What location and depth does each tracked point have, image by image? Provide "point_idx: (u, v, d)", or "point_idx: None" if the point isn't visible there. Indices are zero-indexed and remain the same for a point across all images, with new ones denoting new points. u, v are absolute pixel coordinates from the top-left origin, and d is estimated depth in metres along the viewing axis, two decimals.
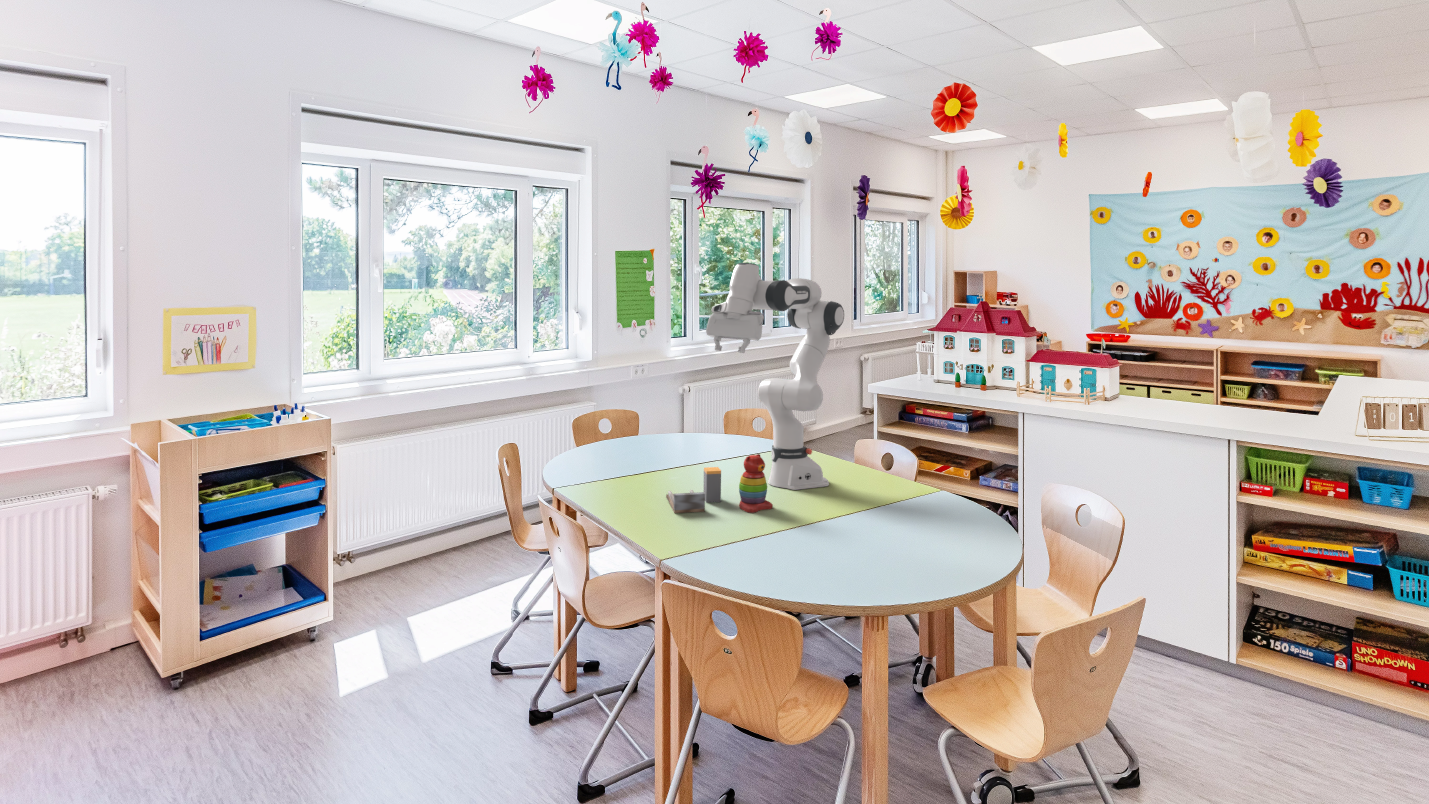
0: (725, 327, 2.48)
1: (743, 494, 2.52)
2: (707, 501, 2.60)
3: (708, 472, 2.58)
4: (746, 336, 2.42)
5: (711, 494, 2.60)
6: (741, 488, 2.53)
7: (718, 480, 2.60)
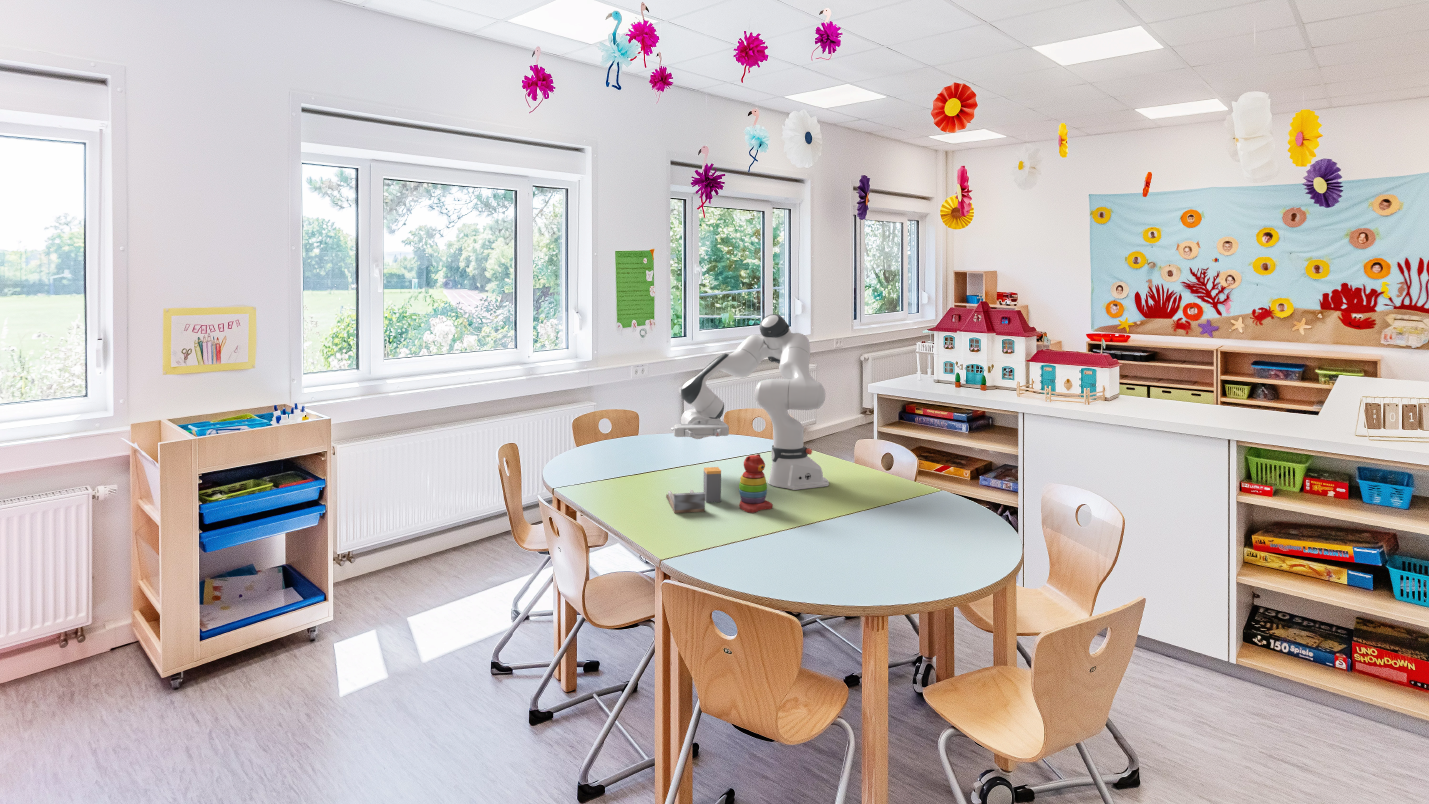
0: None
1: (743, 494, 2.52)
2: (707, 501, 2.60)
3: (708, 472, 2.58)
4: (683, 436, 2.76)
5: (711, 494, 2.60)
6: (741, 488, 2.53)
7: (718, 480, 2.60)
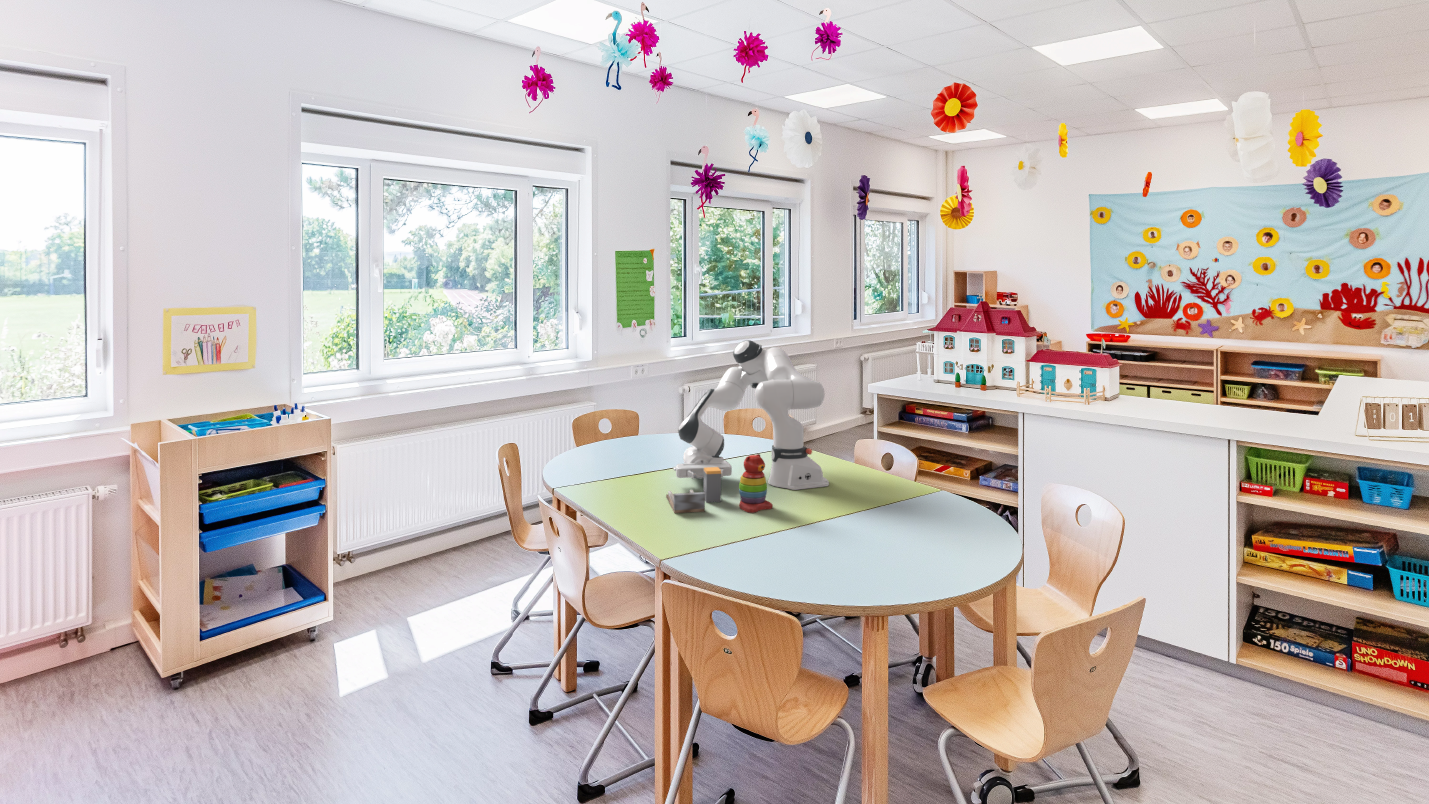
0: None
1: (743, 494, 2.52)
2: (707, 501, 2.60)
3: (708, 472, 2.58)
4: (686, 477, 2.73)
5: (711, 494, 2.60)
6: (741, 488, 2.53)
7: (718, 480, 2.60)
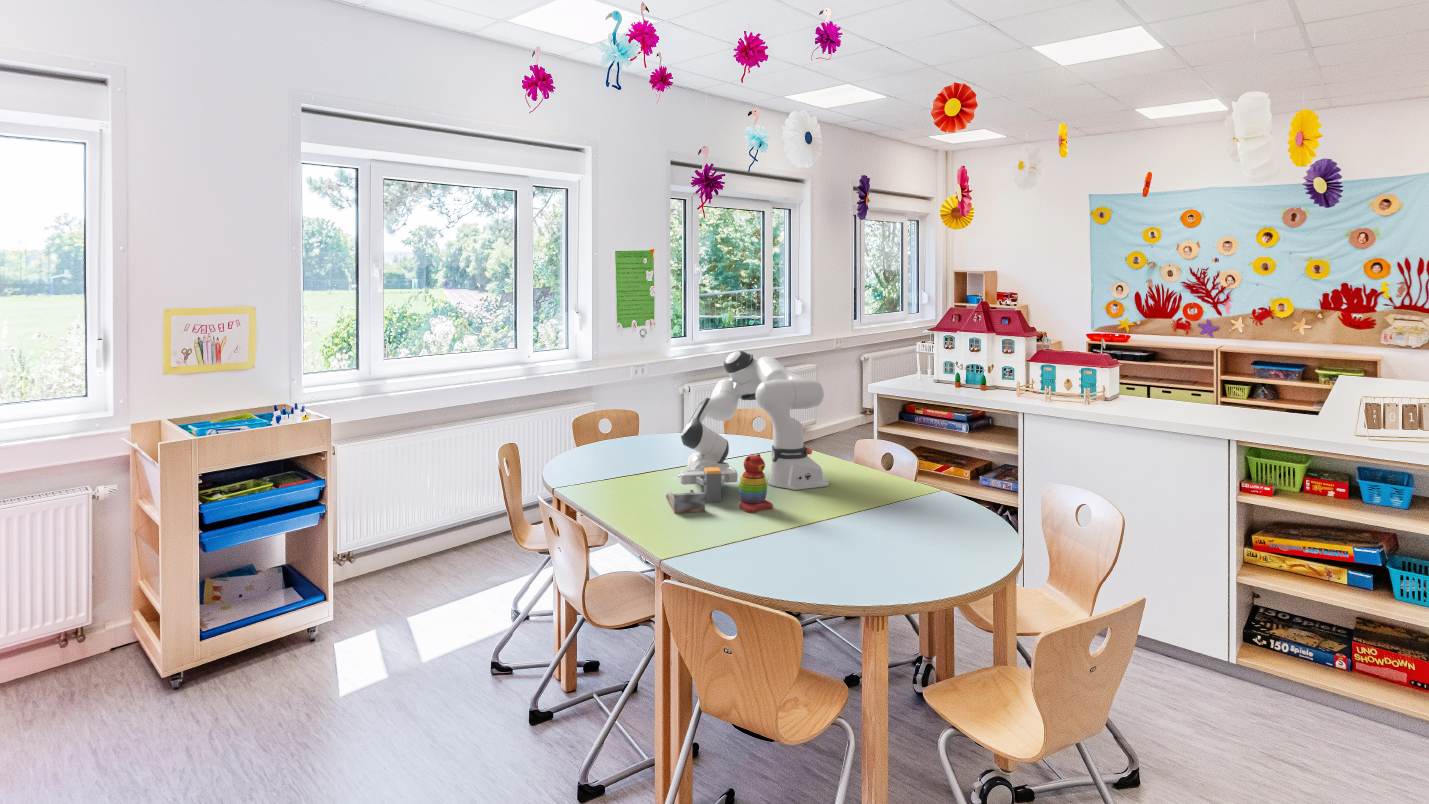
0: None
1: (743, 494, 2.52)
2: (707, 501, 2.60)
3: (708, 472, 2.58)
4: None
5: (711, 494, 2.60)
6: (741, 488, 2.53)
7: (718, 480, 2.60)
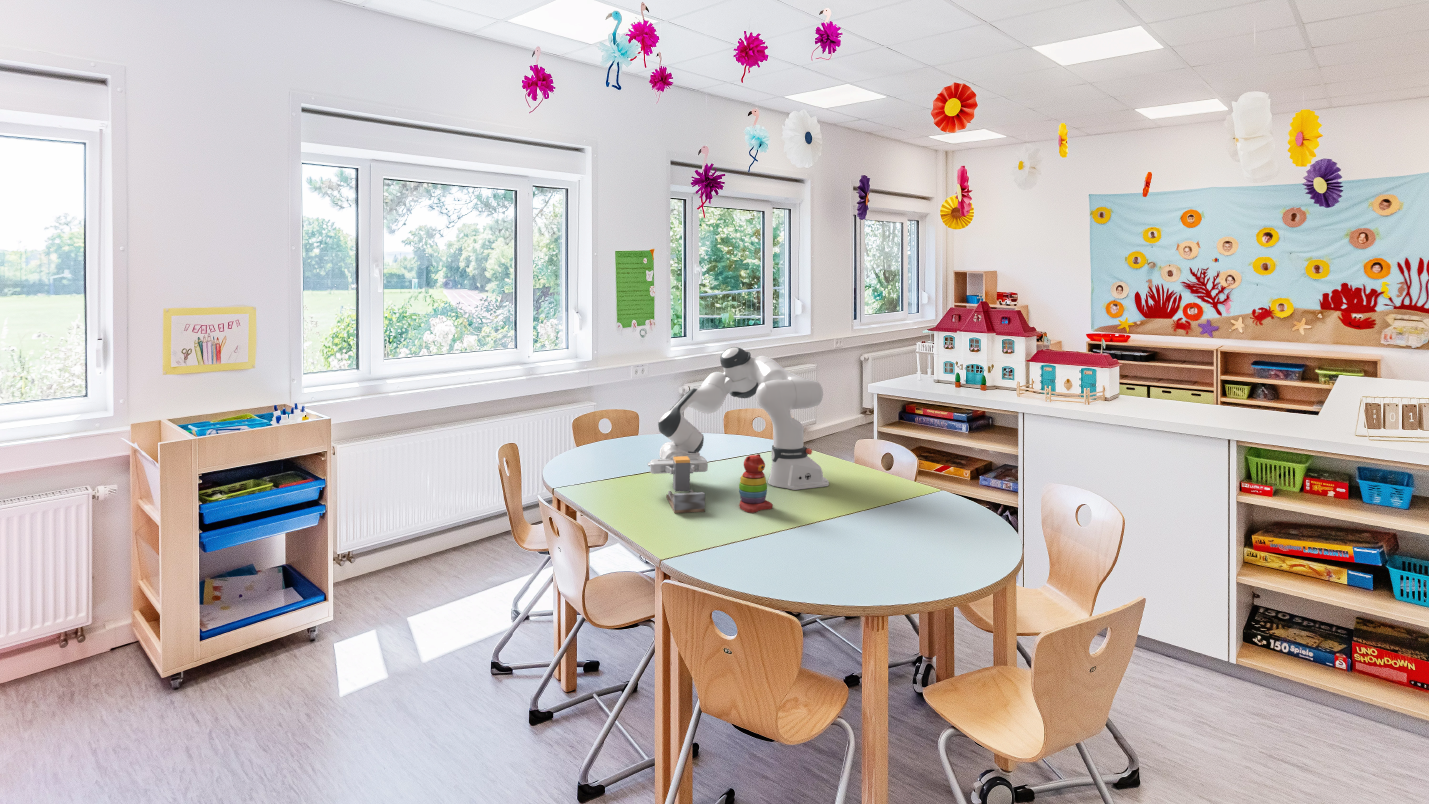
0: None
1: (743, 494, 2.52)
2: (676, 490, 2.60)
3: (677, 461, 2.59)
4: (660, 473, 2.65)
5: (680, 483, 2.60)
6: (741, 488, 2.53)
7: (687, 469, 2.60)
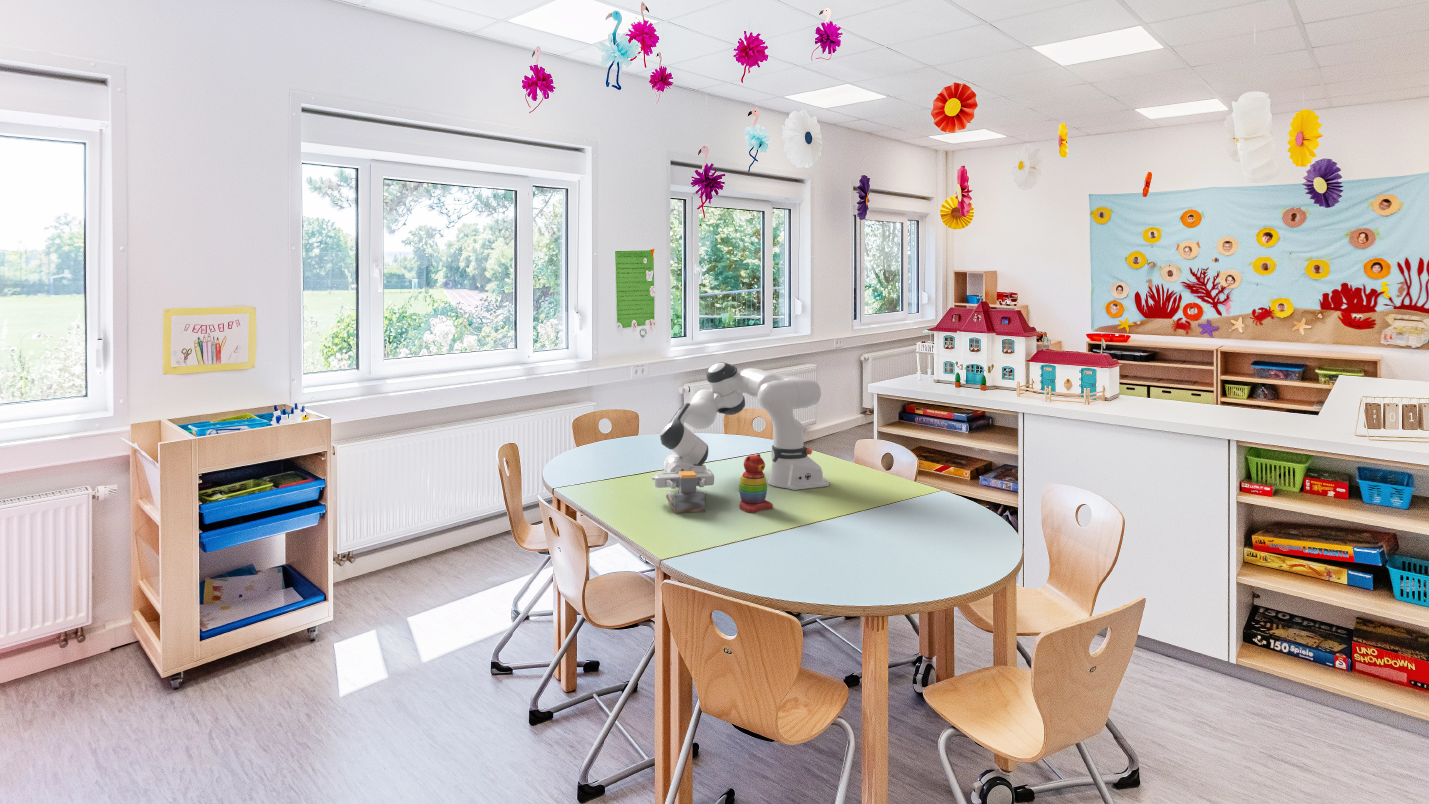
0: None
1: (743, 494, 2.52)
2: None
3: (683, 476, 2.49)
4: None
5: None
6: (741, 488, 2.53)
7: (693, 484, 2.50)
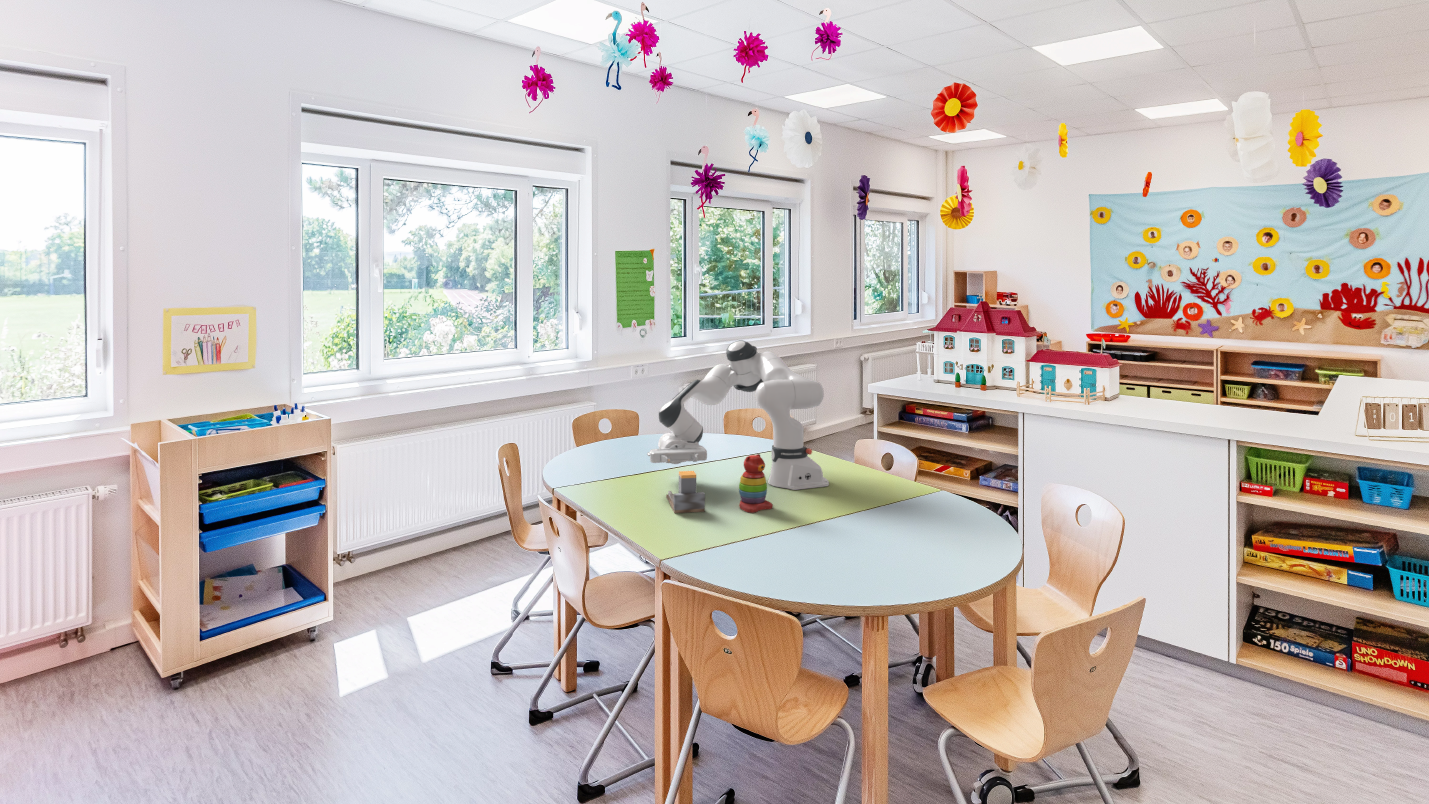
0: None
1: (743, 494, 2.52)
2: None
3: (683, 476, 2.49)
4: (660, 462, 2.67)
5: None
6: (741, 488, 2.53)
7: (693, 484, 2.50)
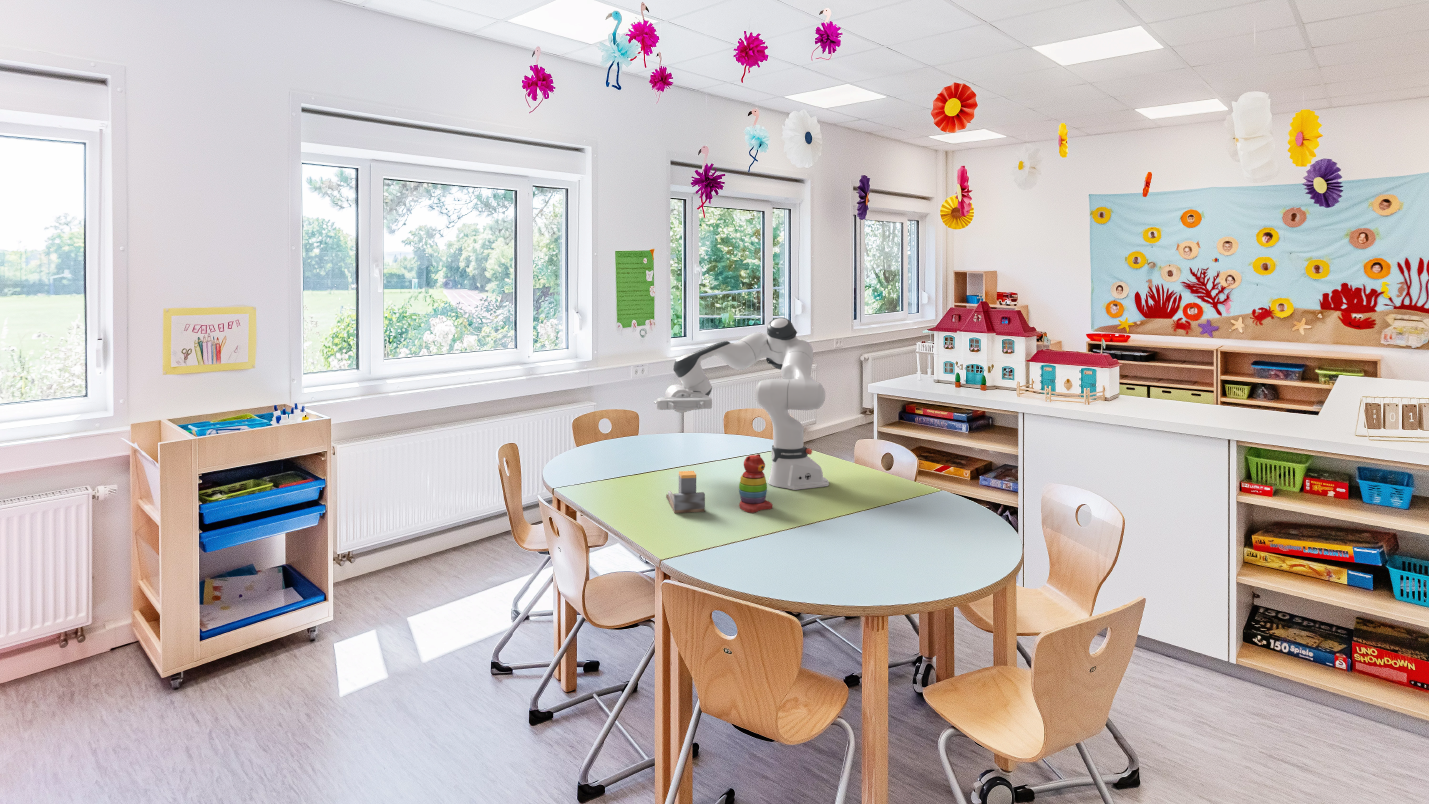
0: None
1: (743, 494, 2.52)
2: None
3: (683, 476, 2.49)
4: (666, 409, 2.75)
5: None
6: (741, 488, 2.53)
7: (693, 484, 2.50)
